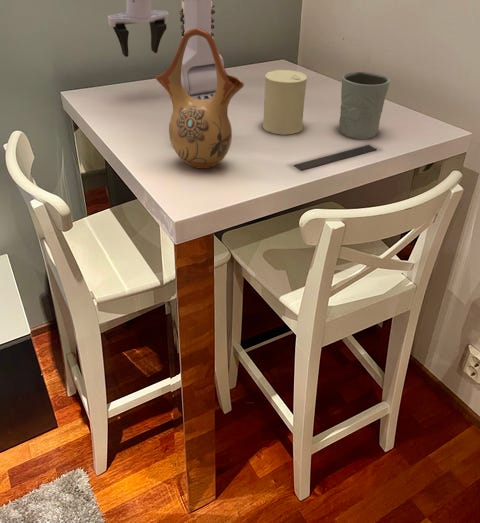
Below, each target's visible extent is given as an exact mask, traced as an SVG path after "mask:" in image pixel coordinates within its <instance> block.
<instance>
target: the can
mask: <svg viewBox="0 0 480 523" xmlns="http://www.w3.org/2000/svg"><path fill="white" fill-rule="evenodd" d="M307 80H308V76H307V75H306V74H305V73H303V72H301V71H297V70H291V69H276V70H270V71H268V72H267V73H265V74H264V99H263V100H264V101H263V102H264V103H263V118H262V119H263V120H262V126H261V127H262V128H263V130H264V131H266V132H268V133H270V134H273V135H282V136H283V135H285V136H287V135H294V134H298V133H300V132H301V131H302V130H303V129H304V126H303V123H304V122H303V119H304V109H305V99H306V89H307Z"/></svg>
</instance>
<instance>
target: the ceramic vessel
mask: <svg viewBox="0 0 480 523" xmlns="http://www.w3.org/2000/svg"><path fill="white" fill-rule="evenodd" d="M196 35H198V36H202V37H204V38H205V39H206V40H207V42H208V44H209V46H210V49H211V52H212V55H213V58H214V62H215V67H216V74H217V89H216V92H215V94H214V95H213V96H212V97H211V98H210V99H208V100H200V99H195V98H193V97H191V96H190V95H188V94H187V93H186V91H185V90H184V88H183V86H182V83H181V68H182V61H183V56H184V52H185V48H186V45H187V42H188V40H189V39H190V37H192V36H196ZM219 54H220V52H219V49H218V47H217V44H216V41H215V39H214V37H213V38H212V36H211V35H210V34H209V33H208V32H206V31H205V30H202V29H199V28H196V29H191V30H189V31H187V32H186V33H185V34H184V36H183V38H182V37H181V40H180V43H179V46H178V48H177V51H176V53H175V56H174V58H173V60H172V61H171V63H170V65H169V67H168V68H167V69H166V71H164V72H161V73H160V74H158V75H156V76H155V77H154V78H155V80H156V81H157V82H158V83H159V84H160V85H161V86H162V87H163V88H164V90H165V91H166V93H167V94H168V96H169V98H170V102H171V104H172V113H171V117H170V119H169V125H168V135H169V139H170V140H169V141H170V144H171V147H172V148H173V150H174V152H175V153H176V155H177V156H178V158H180V159H181V160H182V162H184V163H185V164H187V166H189V167H192V168H196V169H211V168H213V167H215V166H216V165H218V164H219V163H221V162H222V161H223V160H224V158H225V157H226V156H227V155H228V153H229V151H230V149H231V145H232V140H233V130H232V124H231V121H230V119H229V115H228V109H229V108H228V107H229V104H230V101H231V100H232V99H233V97H234V96H235V95H236V94H237V93H238V92H239V91H240V90H241V89H243V88H244V86H245V84H244V82H243V81H242V80H241V79H240V78H238V77H236V76H233V75H230V74H228V73H227V70H226V69H225V66H223V64H222V61H221V58H220V55H221V54H220V55H219Z"/></svg>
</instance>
